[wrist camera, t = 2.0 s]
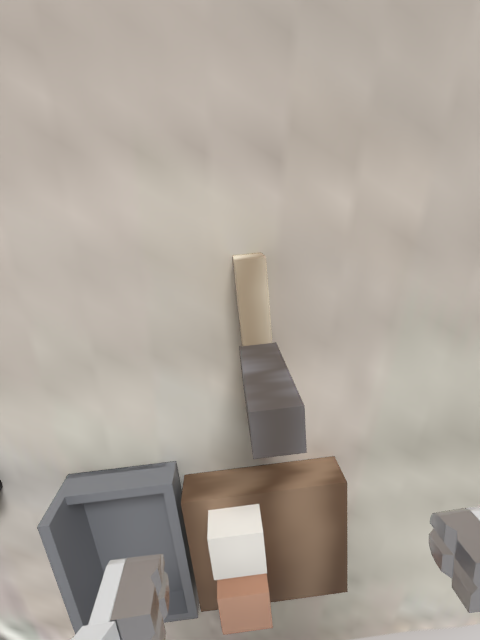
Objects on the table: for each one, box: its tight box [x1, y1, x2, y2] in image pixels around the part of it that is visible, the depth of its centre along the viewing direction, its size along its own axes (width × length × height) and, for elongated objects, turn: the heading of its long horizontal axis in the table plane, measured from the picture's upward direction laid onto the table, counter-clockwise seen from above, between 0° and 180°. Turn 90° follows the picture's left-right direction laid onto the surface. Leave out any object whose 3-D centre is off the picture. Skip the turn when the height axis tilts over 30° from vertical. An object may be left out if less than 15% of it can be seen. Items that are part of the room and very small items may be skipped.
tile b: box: [217, 573, 273, 635], centre depth 27 cm, size 4×4×2 cm
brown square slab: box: [181, 456, 347, 612], centre depth 29 cm, size 13×12×3 cm
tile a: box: [207, 504, 267, 580], centre depth 26 cm, size 4×4×2 cm
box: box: [37, 461, 199, 634], centre depth 28 cm, size 9×15×5 cm, turn 6°
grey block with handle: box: [233, 253, 307, 459], centre depth 21 cm, size 2×14×11 cm, turn 6°
